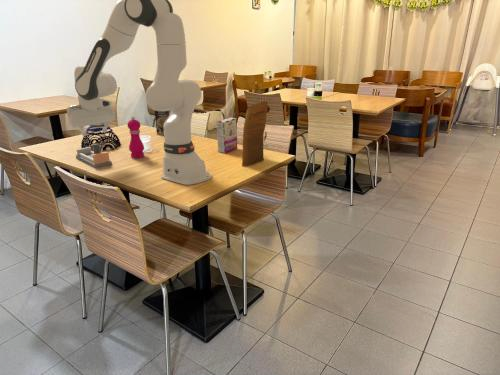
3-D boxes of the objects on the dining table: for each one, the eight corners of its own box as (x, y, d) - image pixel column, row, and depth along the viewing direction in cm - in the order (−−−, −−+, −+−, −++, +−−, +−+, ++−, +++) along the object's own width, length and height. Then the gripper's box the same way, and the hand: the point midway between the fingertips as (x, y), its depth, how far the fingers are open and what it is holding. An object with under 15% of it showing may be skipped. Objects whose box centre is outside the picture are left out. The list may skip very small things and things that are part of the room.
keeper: (104, 160, 178) (102, 144, 175) (97, 162, 176) (94, 146, 173) (99, 158, 181) (97, 142, 178) (92, 160, 179) (89, 144, 176)
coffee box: (156, 134, 233) (153, 108, 227) (160, 132, 239) (158, 106, 233) (170, 135, 232) (168, 108, 226) (174, 132, 238) (172, 106, 232)
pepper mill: (140, 158, 186) (136, 118, 179) (127, 158, 188) (122, 117, 180) (147, 154, 193) (143, 115, 185) (134, 154, 194) (129, 115, 187)
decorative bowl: (89, 153, 196) (84, 126, 190) (76, 146, 210) (71, 120, 204) (126, 147, 208) (123, 120, 203) (111, 140, 222) (108, 115, 217)
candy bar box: (230, 147, 205) (229, 117, 199) (237, 148, 203) (237, 118, 197) (217, 152, 197) (216, 120, 191) (224, 153, 194) (224, 121, 188)
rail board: (112, 164, 178) (110, 152, 176) (95, 168, 173) (93, 155, 171) (92, 154, 193) (90, 143, 191) (76, 158, 188) (74, 146, 186)
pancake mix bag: (271, 158, 186) (272, 100, 175) (247, 168, 171) (247, 106, 161) (260, 156, 189) (260, 99, 179) (236, 166, 175) (235, 104, 165)
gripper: (68, 107, 160) (74, 139, 165) (114, 101, 173) (118, 131, 178) (63, 105, 164) (69, 137, 169) (108, 100, 177) (112, 129, 182)
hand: (95, 134), depth 174 cm, fingers open, 8 cm apart
